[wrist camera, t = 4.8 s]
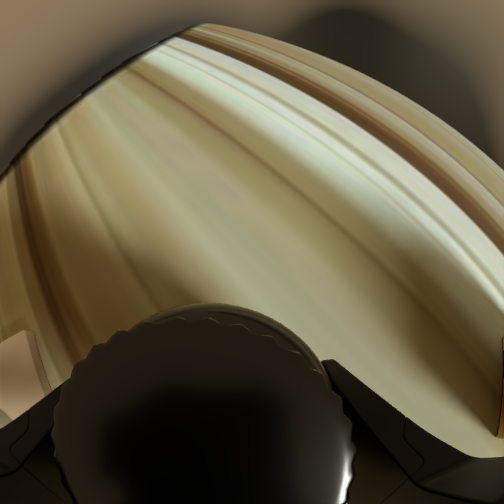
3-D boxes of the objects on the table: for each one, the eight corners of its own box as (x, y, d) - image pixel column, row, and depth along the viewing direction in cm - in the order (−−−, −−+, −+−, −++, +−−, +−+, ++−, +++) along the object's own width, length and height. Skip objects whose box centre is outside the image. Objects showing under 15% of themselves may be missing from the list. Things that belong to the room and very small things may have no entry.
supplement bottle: (134, 379, 14) (-38, 365, 3) (234, 311, 16) (241, 167, 5) (210, 476, 12) (178, 631, 1) (310, 407, 14) (471, 451, 3)
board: (145, 548, 9) (141, 555, 8) (9, 546, 5) (3, 549, 4) (33, 331, 14) (23, 328, 13) (-65, 384, 11) (-73, 383, 9)
